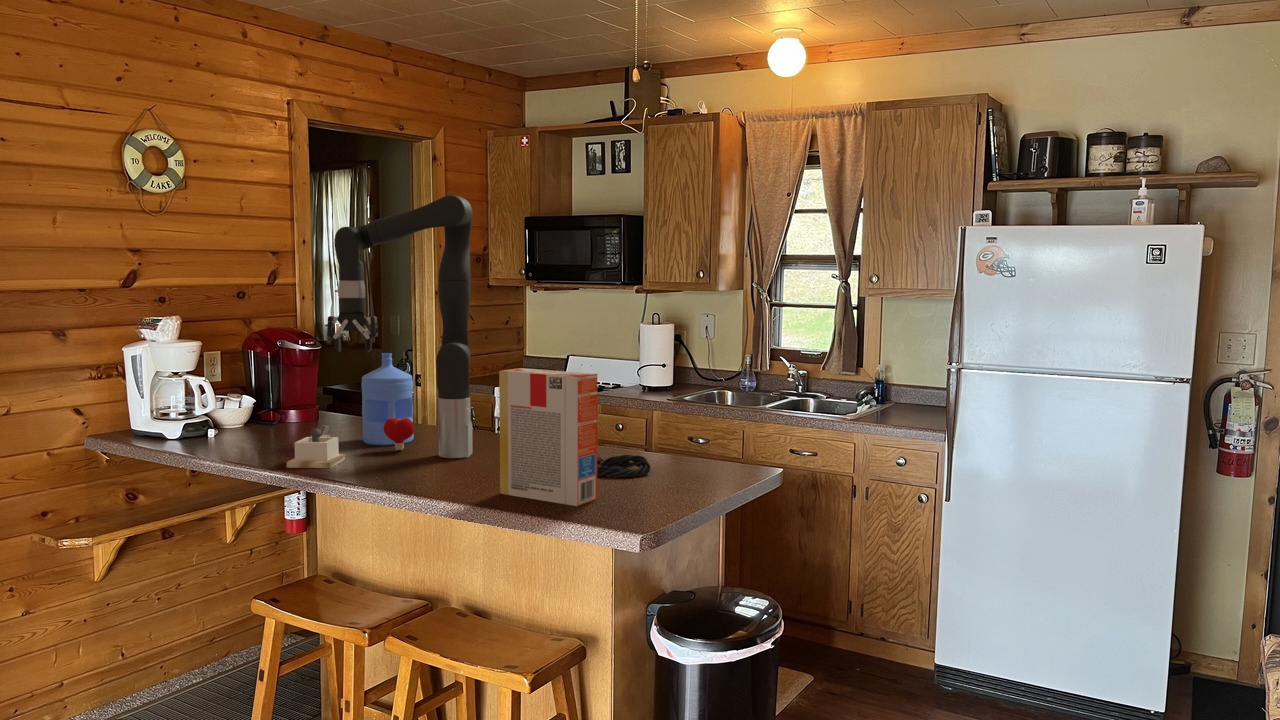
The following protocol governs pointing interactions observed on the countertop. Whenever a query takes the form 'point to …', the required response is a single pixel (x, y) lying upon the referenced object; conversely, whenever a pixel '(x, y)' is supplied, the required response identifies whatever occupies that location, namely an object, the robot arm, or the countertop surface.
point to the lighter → (323, 430)
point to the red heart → (399, 431)
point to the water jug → (385, 400)
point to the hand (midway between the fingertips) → (353, 351)
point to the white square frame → (316, 449)
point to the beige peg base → (316, 464)
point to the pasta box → (548, 435)
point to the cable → (622, 466)
